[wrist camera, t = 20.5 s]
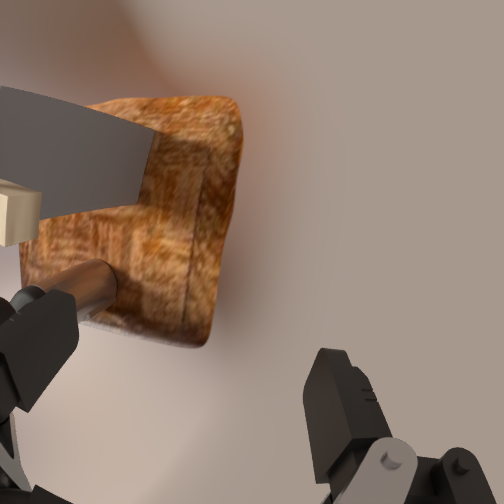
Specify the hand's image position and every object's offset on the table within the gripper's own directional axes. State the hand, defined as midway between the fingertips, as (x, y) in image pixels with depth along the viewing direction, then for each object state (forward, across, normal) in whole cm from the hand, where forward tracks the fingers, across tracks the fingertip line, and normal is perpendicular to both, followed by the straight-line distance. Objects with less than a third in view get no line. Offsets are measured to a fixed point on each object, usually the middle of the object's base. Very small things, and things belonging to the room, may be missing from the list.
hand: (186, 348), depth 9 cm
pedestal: (+42, +22, -2) cm, 47 cm away
